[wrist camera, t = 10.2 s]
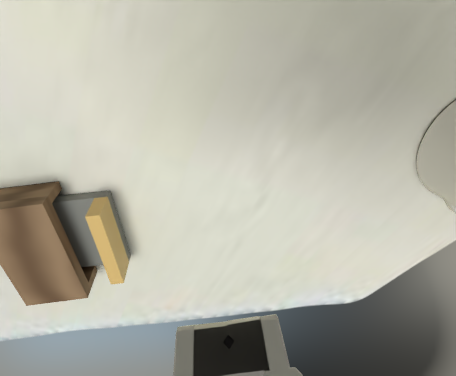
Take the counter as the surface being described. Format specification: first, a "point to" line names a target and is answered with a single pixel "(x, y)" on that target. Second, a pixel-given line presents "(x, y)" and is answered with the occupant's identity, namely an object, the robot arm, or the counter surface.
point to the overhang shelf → (39, 247)
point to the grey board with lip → (95, 231)
